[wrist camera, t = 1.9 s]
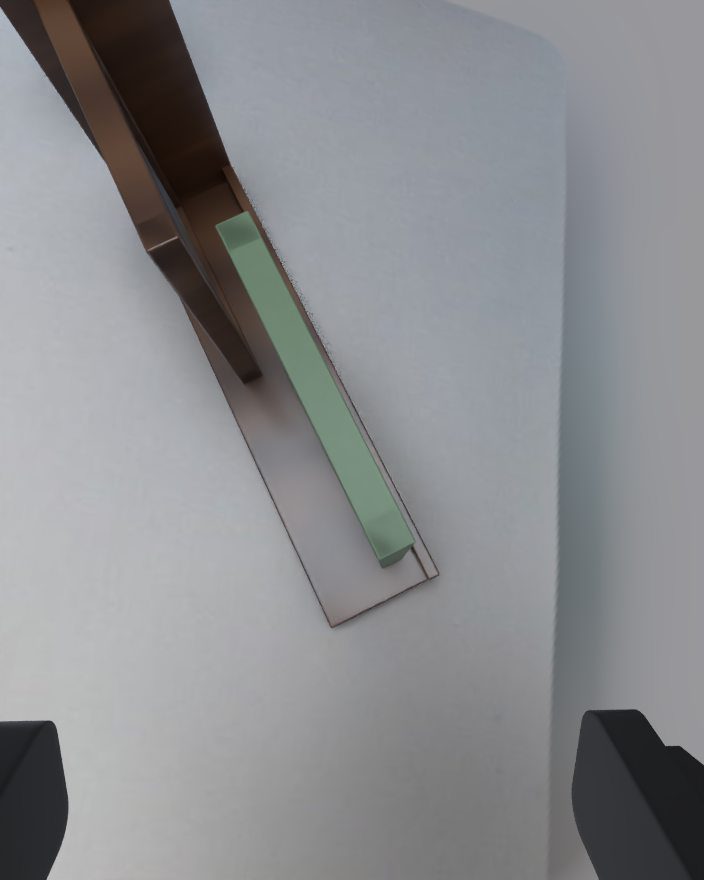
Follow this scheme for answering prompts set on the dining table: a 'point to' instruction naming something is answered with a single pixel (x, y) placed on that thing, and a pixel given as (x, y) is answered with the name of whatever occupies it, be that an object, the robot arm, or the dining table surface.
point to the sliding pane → (317, 391)
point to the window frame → (210, 267)
